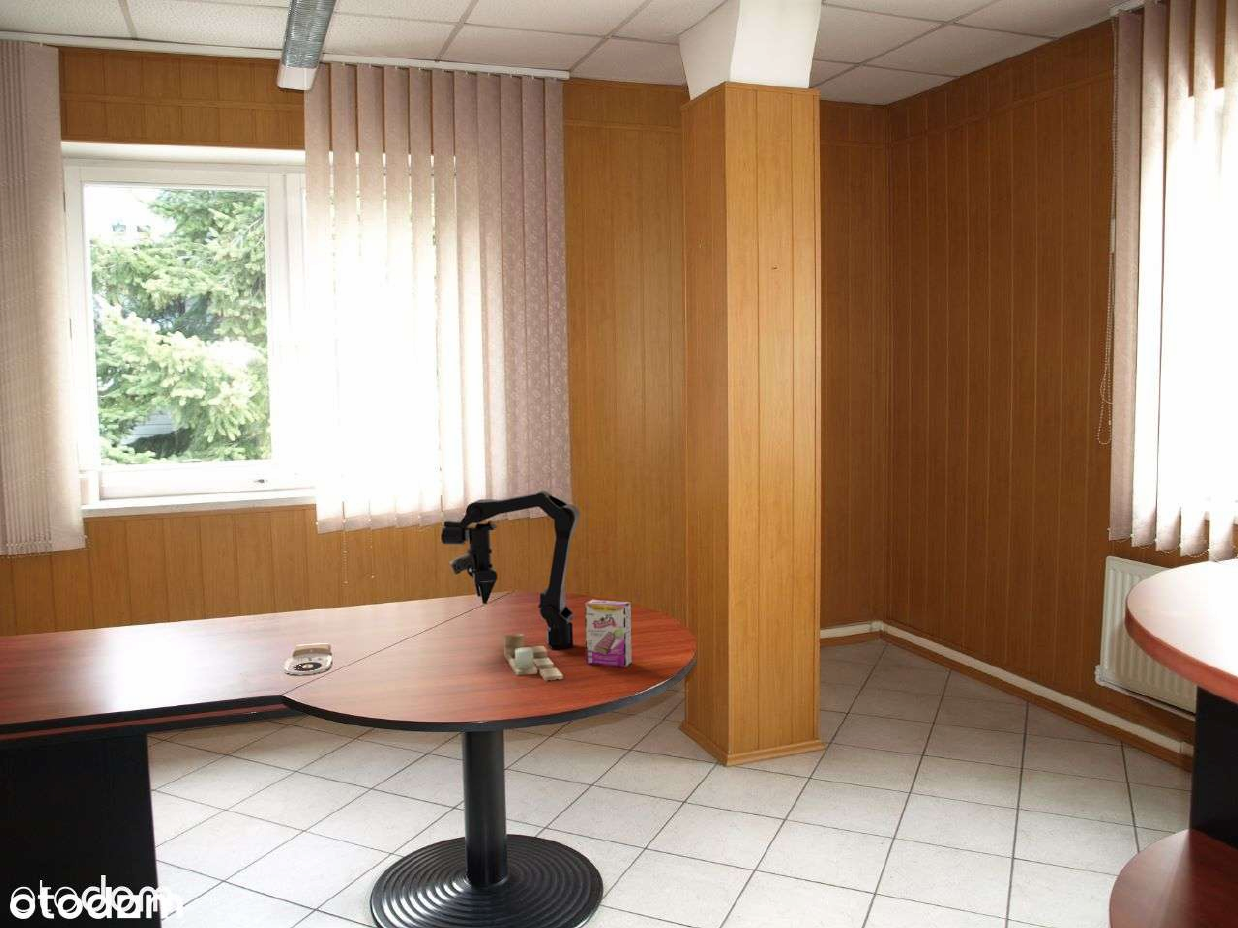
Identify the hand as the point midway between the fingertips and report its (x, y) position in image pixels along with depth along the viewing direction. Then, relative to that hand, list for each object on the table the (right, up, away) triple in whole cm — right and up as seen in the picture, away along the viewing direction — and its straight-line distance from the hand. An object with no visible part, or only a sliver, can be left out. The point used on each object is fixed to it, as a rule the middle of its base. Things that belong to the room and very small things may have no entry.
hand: (482, 600), depth 295 cm
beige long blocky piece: (+12, -14, -19) cm, 27 cm away
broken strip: (+19, -15, -22) cm, 33 cm away
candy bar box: (+36, -14, -20) cm, 44 cm away
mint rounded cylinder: (+14, -14, -25) cm, 32 cm away
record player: (-44, -16, -14) cm, 49 cm away
